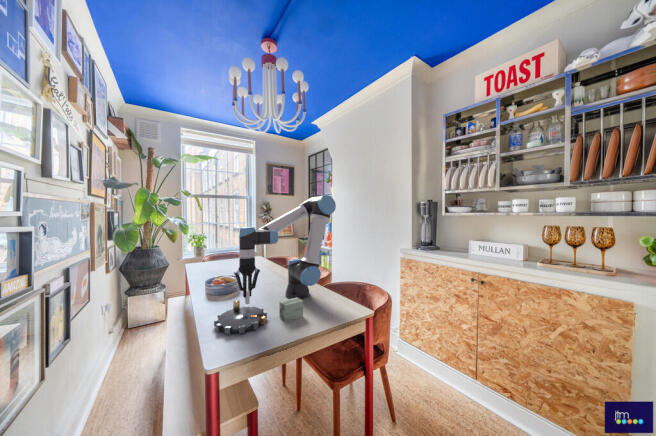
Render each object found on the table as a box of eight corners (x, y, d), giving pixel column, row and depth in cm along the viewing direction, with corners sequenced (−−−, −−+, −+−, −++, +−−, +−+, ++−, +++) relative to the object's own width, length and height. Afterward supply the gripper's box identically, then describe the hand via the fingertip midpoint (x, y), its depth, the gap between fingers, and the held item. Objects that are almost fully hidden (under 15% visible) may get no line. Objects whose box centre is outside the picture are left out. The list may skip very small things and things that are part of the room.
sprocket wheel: (210, 319, 109) (210, 304, 109) (257, 307, 123) (256, 294, 122) (220, 340, 91) (220, 323, 90) (274, 324, 104) (274, 308, 104)
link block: (279, 317, 113) (279, 301, 113) (297, 312, 119) (297, 297, 119) (284, 322, 108) (284, 305, 108) (303, 316, 114) (303, 300, 114)
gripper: (235, 259, 108) (235, 308, 109) (262, 256, 116) (262, 302, 116) (231, 257, 114) (231, 303, 115) (257, 254, 122) (257, 298, 122)
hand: (247, 303), depth 115 cm, fingers closed
